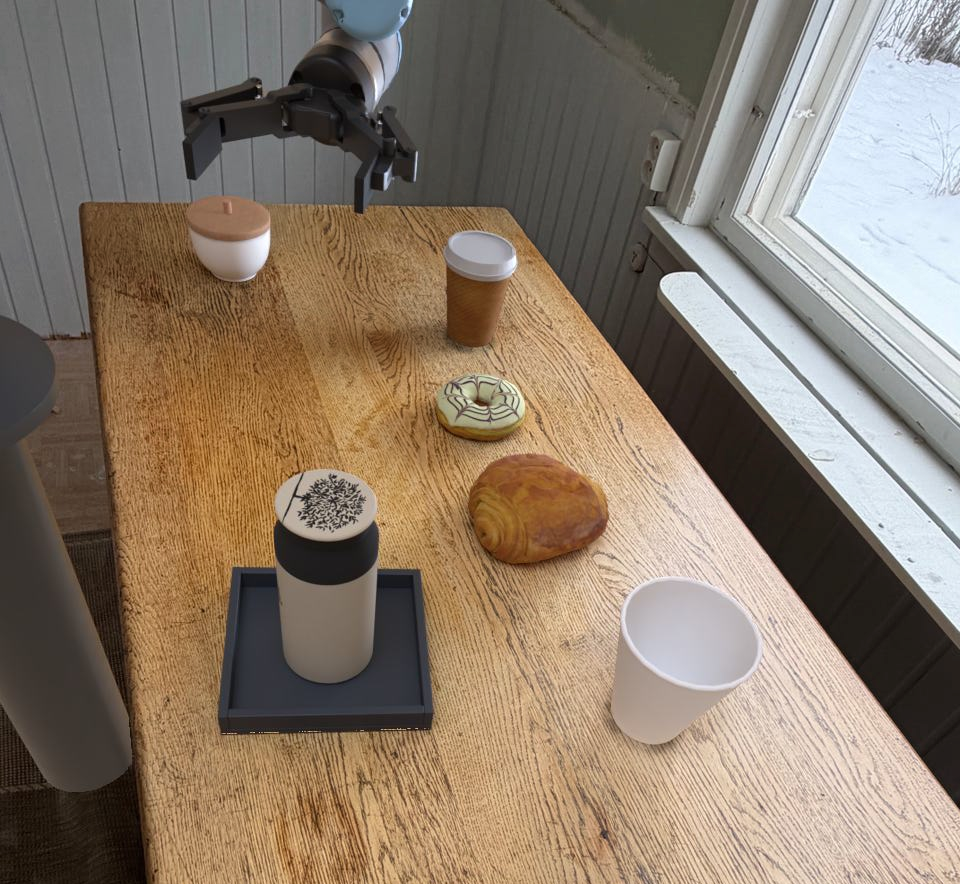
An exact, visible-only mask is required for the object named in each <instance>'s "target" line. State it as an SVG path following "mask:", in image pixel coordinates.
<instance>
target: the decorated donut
mask: <svg viewBox="0 0 960 884" xmlns="http://www.w3.org/2000/svg"><path fill="white" fill-rule="evenodd" d="M435 407H436V408H435V409H436V416H437V418H438V422H439V424H441V425H442V426H443V427H444V428H445V429H446V430H448V431H449V432H450V433H452V434H453V435H457V436H458V437H459V436H460V437H463V438H464V439H470V440H471V439H472V440H477V441H498V440H501V439H503V438H506V437H508V436H510V435H511V434H513V433H514V432H515V431H517V429H518V428H519V427H520V426H521V425H522V424H523V422H524V420H525V416H526V403H525V400H524V398H523V396H522V393H521V392H520V390H519V389H518V388H517V386H516V385H515V384H513V383H511V382H509V381H507V380H506V379H505V378H501V377H498V376H497V375H496V376H495V375H491V374H488V373H469V374H464V375H461V376H459V377H455V378H453V379H451V380H449V381H448V382H446V383H445V384H443V385H442V386H441V387H440V389H438V391H437V394H436V406H435Z"/></svg>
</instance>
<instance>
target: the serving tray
mask: <svg viewBox="0 0 960 884" xmlns="http://www.w3.org/2000/svg"><path fill="white" fill-rule="evenodd" d="M230 577H231V578H230V587H229V597H228V607H227V617H226V619H227V620H226V625H225V626H226V627H225V638H224V647H223V657H222V667H221V668H222V669H221V675H220V677H221V678H220V685H219V686H220V687H219V695H218V696H219V697H218V706H217V715H216V718H217V722H218V726H219V731H220V735H221V736H230V735H231V736H232V735H233V736H234V735H237V736H238V735H270V734H271V735H274V734H275V735H276V734H279V735H280V734H313V733H314V734H318V733H320V734H321V733H322V734H323V733H357V732H359V733H360V732H397V731H398V732H399V731H401V732H403V731H430V730H432V726H433V725H432V724H433V721H434V720H433V719H434V712H435V710H434V700H433V690H432V679H431V677H432V676H431V669H430V657H429V646H428V636H427V635H428V634H427V625H426V624H427V623H426V615H425V603H424V592H423V591H424V590H423V582H422V581H423V580H422V570H421V569H420V568H377V585H376V602H375V620H374V638H373V652H372V657H371V659H370V661H369V663H368V665H367V666H366V667H365V668H364V670H362V671H361V672H360V673H359V674H358V675H356V676H354V677H352V678H350V679H348V680H345V681H342V682H337V683H318V682H314V681H310V680H307V679H305V678H303V677H301V676H300V675H298V674H297V673H295V672H294V671H293V670H292V669H291V668H290V666H289V665H288V663H287V662H286V659H285V657H284V652H283V641H282V629H281V618H280V606H279V595H278V583H277V572H276V566H271V567H270V566H232V567H231V576H230ZM397 728H398V729H400V728H401V729H406V730H381V729H397ZM407 728H411V729H407ZM415 728H418V729H415ZM424 728H426V729H424ZM428 728H429V729H428ZM430 728H431V729H430ZM356 730H357V731H356ZM360 730H364V731H360ZM299 731H300V732H299ZM302 731H303V732H302ZM304 731H306V732H304ZM307 731H321V732H307ZM250 732H255V733H250ZM259 732H260V733H259ZM261 732H263V733H261ZM264 732H279V733H264ZM221 733H226V734H221ZM227 733H237V734H227Z"/></svg>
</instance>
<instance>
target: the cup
mask: <svg viewBox="0 0 960 884" xmlns="http://www.w3.org/2000/svg"><path fill="white" fill-rule="evenodd" d="M760 633H761V632H760V630H759V627H758V625H757V623H756V622H755V621H754V619H753V617H752V616H751V614H750V612H749V611H747V609H746V608H745V607H744V606H743V605H741V604H740V602H739V601H738V600H737V599H735V598H734V597H733V596H731V595H730V594H729V593H726V592H725V591H724V590H723V589H721V588H718V587H716V586H715V585H712V584H709V583H708V582H706V581H702V580H698V579H695V578H691V577H687V576H673V575H671V576H670V575H669V576H661V577H654V578H651V579H649V580H646V581H644V582H642V583H639V584H638V585H637V586H636V587H634V588H633V589H632V590H631V591H629V593H628V594H627V595H626V597H625V598H624V601H623V603H622V604H621V606H620V614H619V631H618V641H617V648H616V649H617V650H616V658H615V659H616V660H615V667H614V675H613V684H612V692H611V702H610V712H611V717H612V718H613V720H614V724H616V726H617V727H618V728H619V730H620V731H621V732H622V733H624V734H625V735H626V736H627V737H628V738H630V739H632V740H634V741H636V742H638V743H642V744H646V745H654V746H655V745H656V746H657V745H662V744H667V743H669V742H670V741H672V740H674V739H676V737H677V736H678V735H680V734H682V733H683V732H684V731H686V729H688V728H689V727H690V726H691V725H693V724H694V723H695V722H696V721H697V720H699V719H700V718H701V717H702V716H704V715H705V714H706V713H708V712H709V711H710V710H711V709H712V708H714V707H715V706H716V705H717V704H718V703H720V702H721V701H722V700H724V699H725V698H726V697H727V696H728V695H730V694H731V693H733V692H734V691H735V690H736V689H737V688H739V686H741V685H743V684H745V683H746V682H748V681H749V680H750V679H751V678H752V676H754V674H755V673H756V672H757V671H758V669H759V667H760V664H761V661H762V659H763V639H762V636H761V634H760Z"/></svg>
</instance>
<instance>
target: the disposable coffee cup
mask: <svg viewBox="0 0 960 884" xmlns="http://www.w3.org/2000/svg"><path fill="white" fill-rule="evenodd" d="M442 254H443V259H444V262H445V273H446V275H445V276H446V277H445V278H446V323H447V324H446V332H447V335H448V337H449V338H450V339H451V340H452V341H454V342H455V343H458V344H460V345H463V346H468V347H482V346H485V345H488V344H489V343H490V342H491V341H492V340H493V337H494V334H495V330H496V327H497V324H498V321H499V318H500V314H501V311H502V307H503V304H504V301H505V298H506V296H507V295H506V294H507V290H508V287H509V285H510V281H511V278H512V275H513V274H514V272H515V270H516V269H517V267H518V259H517V255H516V249H515V246H514V245H513V244H512V243H511V241H509V240H507V239H506V238H505V237H502V236H501V235H498V234H496V233H492V232H489V231H485V230H484V231H483V230H475V229H474V230H473V229H472V230H471V229H470V230H463V231H459V232H456V233H453V234H452V235H450V237H449V239H448V241H447V243H446V245H444V248H443V250H442Z"/></svg>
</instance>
